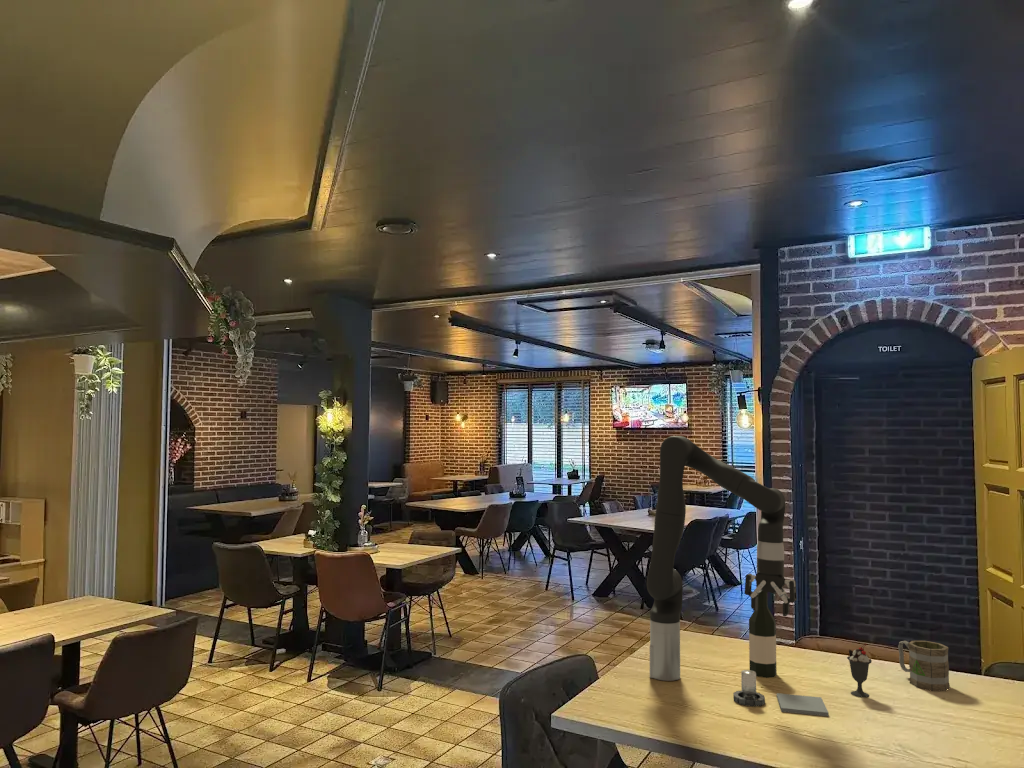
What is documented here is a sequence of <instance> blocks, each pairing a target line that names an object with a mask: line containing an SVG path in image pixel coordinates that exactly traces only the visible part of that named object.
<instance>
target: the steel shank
mask: <svg viewBox="0 0 1024 768" xmlns="http://www.w3.org/2000/svg"><path fill="white" fill-rule="evenodd" d="M740 672H741V677H740V678H741V681H740V682H741V691H742V698H745V699H752V700H753V699H756V692H757V676H756V672H754V671H751V670H750V669H743V670H741V671H740Z"/></svg>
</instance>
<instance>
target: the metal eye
mask: <svg viewBox="0 0 1024 768" xmlns="http://www.w3.org/2000/svg"><path fill="white" fill-rule="evenodd" d="M732 694H733V702H735V703H737V704H738V705H741V706H742V705H743V706H745V707H755V708H756V707H763V706H764V705H766V698H765V695H763V694H762V693H760V692H757V691H756V699H753V700H752V699H745V698H742V690H736V691H734V692H733V693H732Z"/></svg>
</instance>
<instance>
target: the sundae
mask: <svg viewBox="0 0 1024 768" xmlns="http://www.w3.org/2000/svg"><path fill="white" fill-rule="evenodd" d="M865 646H868V644H867V643H864V644H863V645H861V647H858V648H856V649H854V650H851V649H848V653H849V655H848V656H846V659H847V660H848V662H849V666H850V667H849V668H850V672H851V673H850V674H851V678H852V679H853V680H855V681H856V682H857V689H856V690H852V691H850V694H851V695H852V696H854V697H858V698H869V697H870V694H869V693H868V692H865V691H864V690H863V683H864V682H866V681H867V679H868V675H869V669H870V668H869V665H870V664H872V658H869V656H868V655H867V651H866V650H864V648H865Z"/></svg>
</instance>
